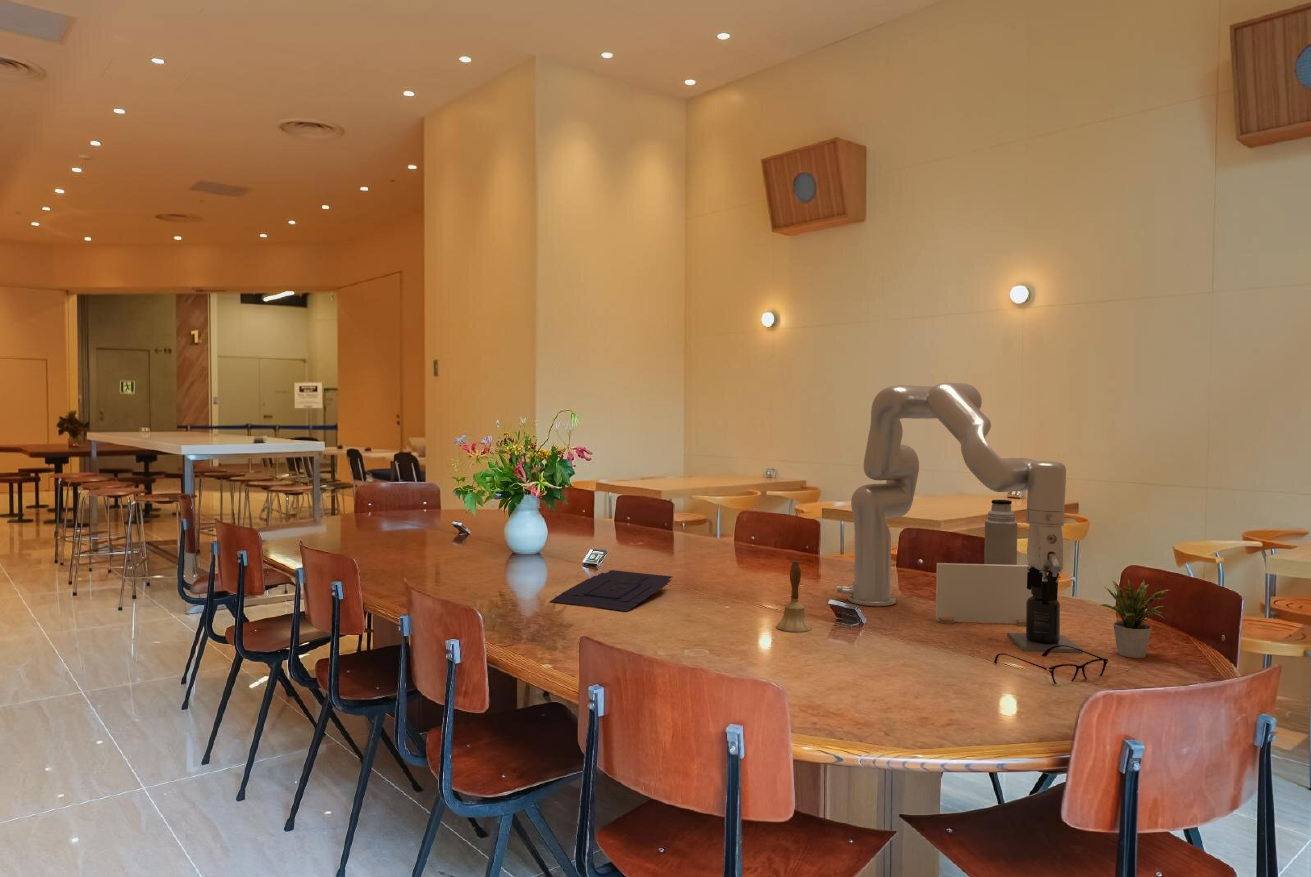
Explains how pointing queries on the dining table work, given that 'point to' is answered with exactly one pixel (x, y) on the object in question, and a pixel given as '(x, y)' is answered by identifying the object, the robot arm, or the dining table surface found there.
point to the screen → (981, 593)
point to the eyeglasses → (1064, 664)
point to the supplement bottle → (1042, 618)
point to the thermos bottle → (1000, 534)
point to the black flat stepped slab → (614, 590)
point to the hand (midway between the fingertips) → (1041, 594)
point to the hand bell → (794, 606)
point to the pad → (1043, 644)
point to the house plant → (1133, 620)
